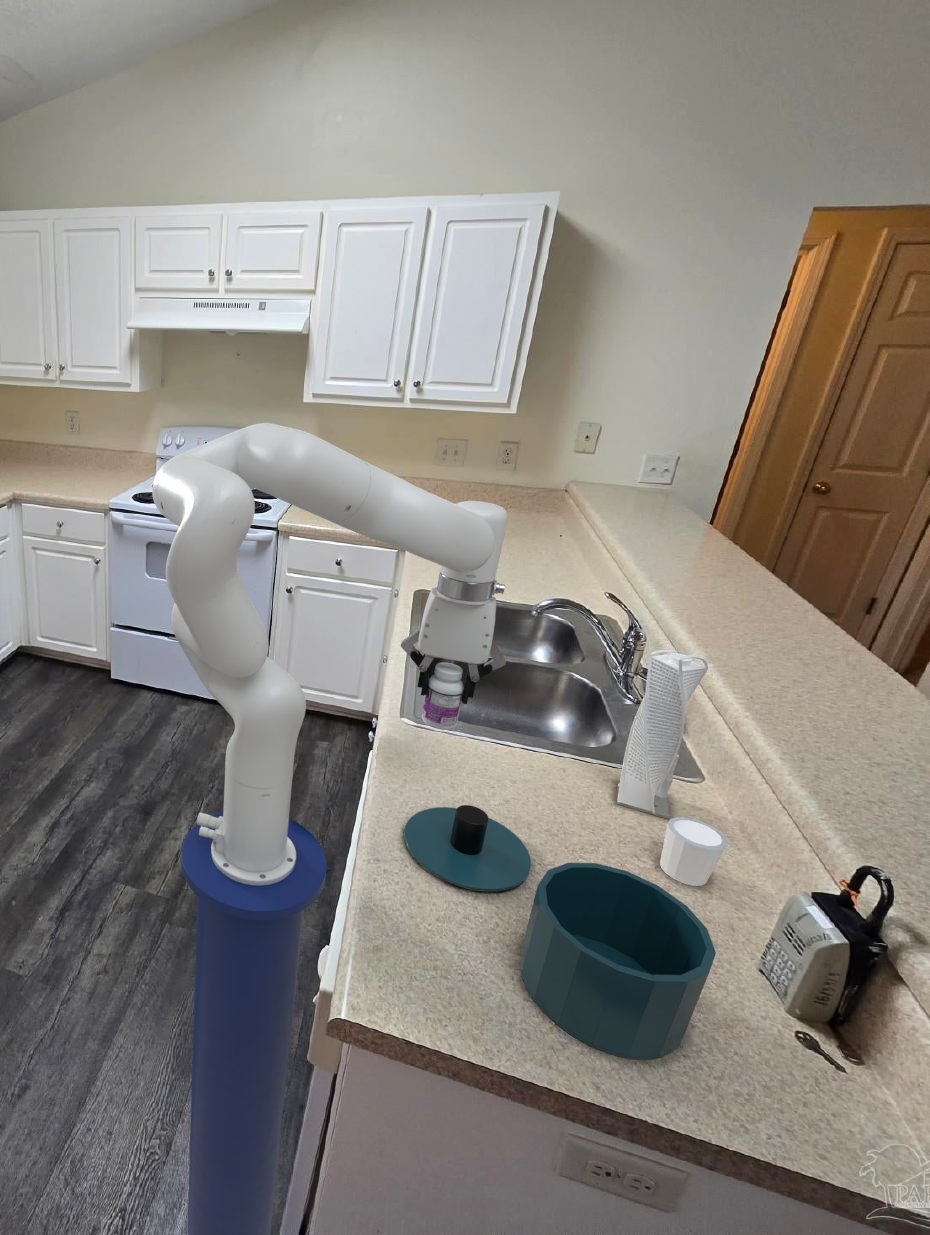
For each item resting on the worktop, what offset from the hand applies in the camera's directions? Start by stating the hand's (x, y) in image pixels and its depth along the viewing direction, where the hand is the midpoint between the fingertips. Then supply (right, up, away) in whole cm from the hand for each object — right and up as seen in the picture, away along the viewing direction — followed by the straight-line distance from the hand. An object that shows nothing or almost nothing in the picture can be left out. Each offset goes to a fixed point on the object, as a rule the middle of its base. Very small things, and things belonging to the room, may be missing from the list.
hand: (443, 694), depth 108 cm
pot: (+7, -31, -27) cm, 42 cm away
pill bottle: (0, -5, +2) cm, 5 cm away
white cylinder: (+31, -24, -9) cm, 40 cm away
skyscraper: (+34, -19, +6) cm, 40 cm away
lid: (+1, -22, -5) cm, 23 cm away
